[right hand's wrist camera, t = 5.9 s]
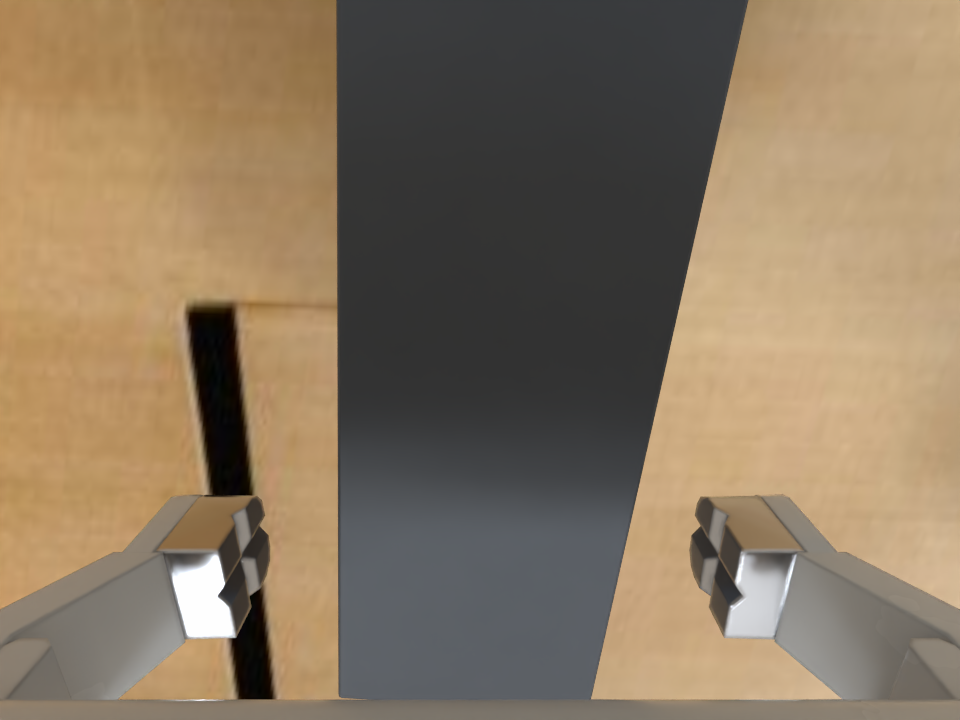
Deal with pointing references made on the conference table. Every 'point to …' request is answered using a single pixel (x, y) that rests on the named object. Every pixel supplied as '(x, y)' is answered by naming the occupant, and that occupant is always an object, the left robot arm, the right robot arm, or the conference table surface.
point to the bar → (506, 321)
